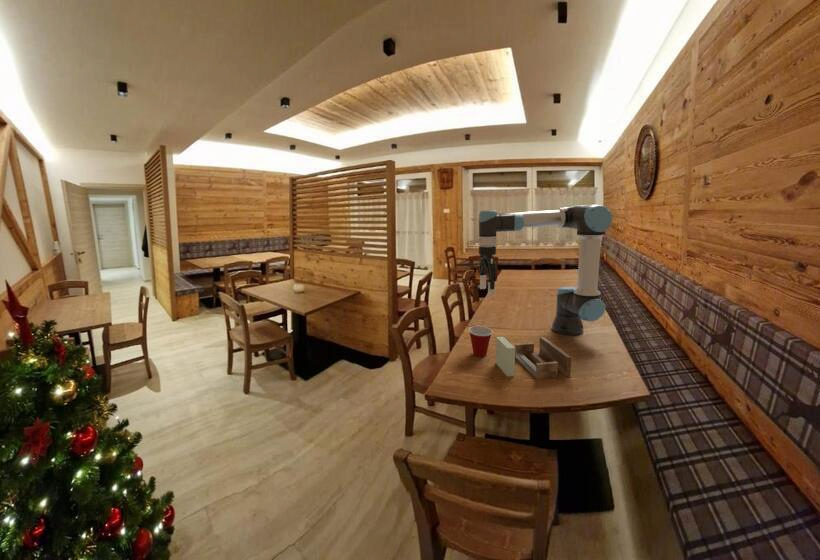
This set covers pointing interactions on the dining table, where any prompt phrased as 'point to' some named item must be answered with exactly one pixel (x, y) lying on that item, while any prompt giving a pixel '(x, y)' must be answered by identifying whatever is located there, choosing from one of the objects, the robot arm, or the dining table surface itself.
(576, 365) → the dining table surface
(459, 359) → the dining table surface
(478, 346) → the plastic cup
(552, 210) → the robot arm
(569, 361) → the track
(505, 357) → the door panel
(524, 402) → the dining table surface
